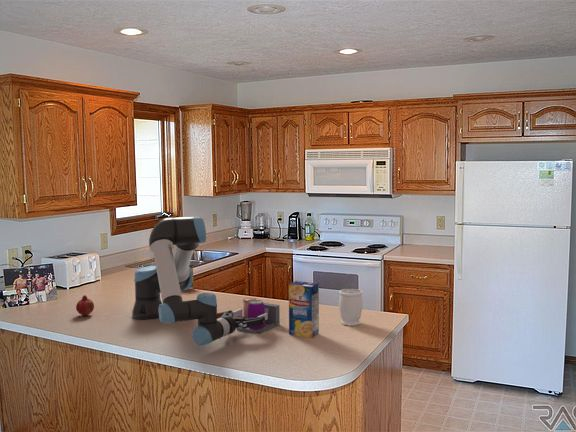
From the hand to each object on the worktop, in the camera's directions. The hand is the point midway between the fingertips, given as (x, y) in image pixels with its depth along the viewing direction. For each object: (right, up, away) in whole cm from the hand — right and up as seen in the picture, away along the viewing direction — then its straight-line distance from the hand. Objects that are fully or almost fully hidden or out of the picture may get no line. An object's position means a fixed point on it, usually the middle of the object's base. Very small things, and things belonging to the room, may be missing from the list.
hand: (254, 313), depth 236 cm
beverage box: (+22, -8, -6) cm, 24 cm away
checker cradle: (+1, -7, +4) cm, 8 cm away
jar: (+43, -6, +8) cm, 45 cm away
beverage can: (+1, -7, +3) cm, 8 cm away
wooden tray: (-14, -6, +12) cm, 19 cm away
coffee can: (-46, +1, +80) cm, 92 cm away
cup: (-3, -5, +21) cm, 22 cm away
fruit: (-84, -6, +24) cm, 87 cm away
